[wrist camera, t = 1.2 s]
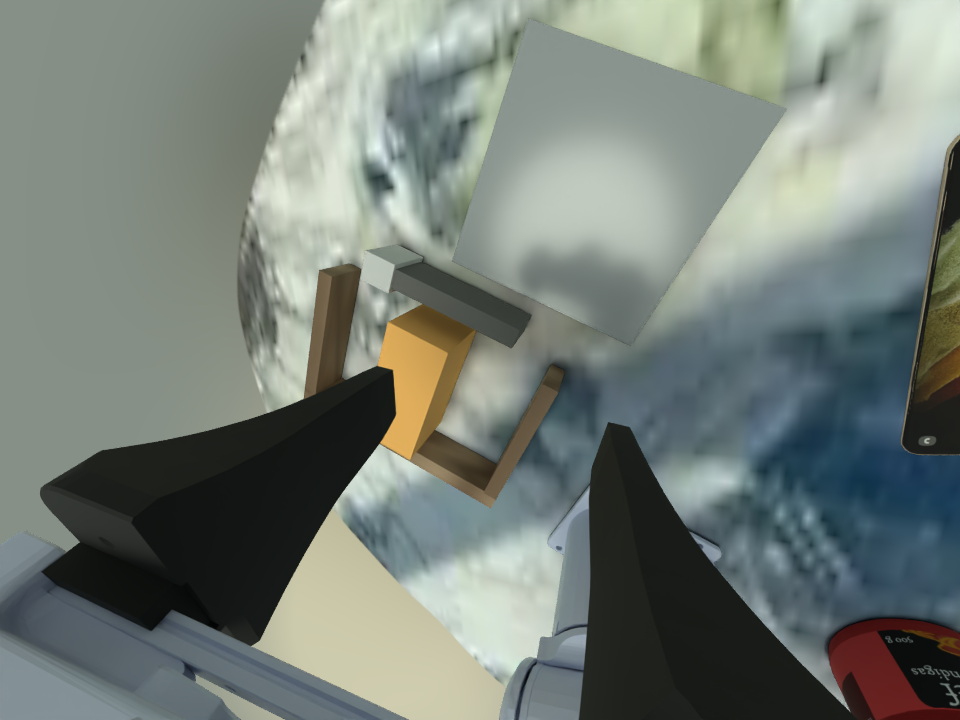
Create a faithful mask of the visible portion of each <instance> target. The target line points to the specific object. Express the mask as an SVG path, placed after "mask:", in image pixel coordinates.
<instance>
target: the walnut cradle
mask: <svg viewBox="0 0 960 720" xmlns="http://www.w3.org/2000/svg"><path fill="white" fill-rule="evenodd" d="M360 273H361V269H360V268H358V267H356V266H354V265H352V264H345V265H341V266H336V267H331V268H327V269H322V270H319V276H318V285H317V293H316V301H315V310H314V318H313V326H312V334H311V343H310V351H309V359H308V368H307V376H306V384H305V393H304V399H305V398H308V397H310V396H312V395H315V394H317V393H319V392H322V391H324V390H326V389H328V388H330V387H332V386H335V385H337V384H339V383H341V382H343V381H345V380H344V379H342V378H341V377H342V371H343V366H344V360H345V355H346V349H347V344H348V338H349V333H350V327H351V322H352V316H353V311H354V305H355V300H356V294H357V289H358V284H359V278H360ZM564 373H565V371H564V370H562V369H560V368H558V367H556V366H554V365H552V364H551V365H550V367H549V369H548V371H547V373H546V374H545V376H544V378H543V380H542V382H541V384H540V386H539V387H538V389H537V391H536V393H535V395H534V397H533V398H532V400H531V402H530V404H529V406H528V408H527V410H526V411H525V413H524V415H523V417H522V419H521V421H520V422H519V424H518V426H517V428H516V430H515V432H514V433H513V435H512V437H511V439H510V441H509V443H508V445H507V446H506V448H505V450H504V452H503V454H502V456H501V457H500V459H499V461H498V463H497V465H496V464H494V463H493V462H491V461H489V460H487V459H485V458H484V457H482V456H480V455H478V454H476V453H475V452H473V451H471V450H469V449H467V448H466V447H464V446H462V445H460V444H459V443H457V442H455V441H453V440H451V439H450V438H448V437H446V436H444V435H442V434H441V433H439V432H437V431H435V430H434V431H433V432H432V434H431V435H430V436H429V437H428V439H427V440H426V441H425V442H424V443H423V445H422V446H421V447H420V448H419V450H418V451H417V452H416V453H415V455H414V456H413V457H412V458H411V460H409V459H407V458H405V457H404V456H402V455H400V454H398V453H397V452H395V451H393V450H392V449H390V448H388V447H386V446H385V445H383V444H381V443H380V444H381V445H382V446H384V447H386V448H387V449H389V450H391V451H393V452H394V453H396V454H398V455H400V456H401V457H403V458H405V459H406V460H408V461H410V462H412V463H413V464H415V465H417V466H419V467H420V468H422V469H424V470H425V471H427V472H429V473H431V474H432V475H434V476H436V477H438V478H439V479H441V480H443V481H444V482H446V483H448V484H450V485H451V486H453V487H455V488H457V489H458V490H460V491H462V492H463V493H465V494H467V495H469V496H470V497H472V498H474V499H476V500H477V501H479V502H481V503H482V504H484V505H486V506H488V507H489V508H491V507H492V505H493V504H494V502H495V500H496V499H497V497H498V495H499V493H500V492H501V490H502V488H503V487H504V485H505V483H506V481H507V480H508V478H509V476H510V475H511V473H512V471H513V469H514V468H515V466H516V464H517V463H518V461H519V459H520V457H521V456H522V454H523V452H524V451H525V449H526V447H527V445H528V444H529V442H530V440H531V439H532V437H533V435H534V433H535V432H536V430H537V428H538V427H539V425H540V423H541V421H542V420H543V418H544V416H545V415H546V413H547V411H548V409H549V408H550V406H551V404H552V403H553V401H554V399H555V397H556V396H557V394H558V392H559V389H560V386H561V383H562V379H563V376H564Z"/></svg>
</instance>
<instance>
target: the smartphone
mask: <svg viewBox="0 0 960 720" xmlns="http://www.w3.org/2000/svg"><path fill="white" fill-rule="evenodd" d="M946 206H947V207H946ZM901 445H902V447H903V448H904V449H905V450H907V451H908V452H910V453H913V454H917V455H960V135H959V136H958V137H957V138H955V139H954V140H953V142H952V143H951V144H950V146H949V148H948V150H947V154H946V160H945V165H944V172H943V178H942V184H941V190H940V196H939V202H938V208H937V214H936V220H935V226H934V233H933V239H932V245H931V252H930V258H929V264H928V271H927V277H926V283H925V289H924V296H923V302H922V308H921V315H920V321H919V327H918V334H917V340H916V346H915V353H914V359H913V365H912V372H911V378H910V384H909V391H908V397H907V403H906V410H905V416H904V422H903V429H902V435H901Z"/></svg>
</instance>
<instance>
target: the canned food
mask: <svg viewBox="0 0 960 720" xmlns="http://www.w3.org/2000/svg"><path fill="white" fill-rule="evenodd" d="M828 653H829V660H830V666H831V669H832V672H833V674H834V677H835V679H836V681H837V683H838V685H839V688H840V690H841V692H842V694H843V696H844V698H845V701H846V703H847V705H848V707H849V709H850V712H851V713H852V714H853V715H854V716H855V717H856V718H857V719H858V720H960V634H959V633H957V632H955V631H953V630H951V629H948V628H945V627H941V626H938V625H935V624H931V623H926V622H921V621H916V620H907V619H876V620H868V621H864V622H859V623H856V624H853V625H851V626H848V627H846V628H844V629H843V630H841V631H840V632H838V633H837V634H836V635H835V636H834V637H833V638H832V640H831V642H830V644H829V651H828Z"/></svg>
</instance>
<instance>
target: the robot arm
mask: <svg viewBox="0 0 960 720" xmlns="http://www.w3.org/2000/svg"><path fill="white" fill-rule="evenodd" d="M395 417H396V402H395V388H394V374H393V370H392V369H388V368H384V367H380V366H376V367H374V368H371V369H369V370H367V371H364V372H362V373H360V374H358V375H356V376H354V377H352V378H349V379H347V380H345V381H343V382H341V383H339V384H337V385H335V386H332V387H330V388H328V389H326V390H324V391H322V392H319V393H317V394H315V395H312V396H310V397H308V398H305V399H303V400H300V401H298V402H296V403H293V404H291V405H289V406H286V407H283V408H281V409H278V410H275V411H273V412H270V413H267V414H264V415H261V416H258V417H255V418H252V419H249V420H245V421H242V422H238V423H234V424H231V425H228V426H224V427H220V428H216V429H213V430H209V431H205V432H201V433H197V434H192V435H188V436H183V437H178V438H173V439H168V440H163V441H158V442H152V443H146V444H140V445H134V446H128V447H121V448H116V449H109V450H102V451H100V452H98V453H96V454H95V455H93V456H92V457H90V458H88V459H87V460H85V461H83V462H82V463H80V464H78V465H77V466H75V467H73V468H72V469H70V470H68V471H67V472H65V473H64V474H62V475H60V476H59V477H57V478H55V479H54V480H52V481H50V482H49V483H47V484H46V485H44V486H43V487H42V488H41V490H40V496H41V499H42V500H43V502H44V504H45V505H46V506H47V507H48V508H49V510H51V512H52V513H53V514H54V515H55V516H56V517H57V518H58V519H59V520H60V521H61V522H62V523H63V524H64V526H65V527H66V528H67V529H68V530H69V531H70V532H71V533H72V534H73V535H74V536H75V537H76V538H77V539H78V540H79V541H80V543H78V544H77V545H76V546H74V547H73V548H72V549H71V550H69V551H68V552H66V551H65V550H63V549H62V548H60V547H59V546H57V545H55V544H53V543H51V542H49V541H47V540H45V539H42V538H40V537H38V536H36V535H34V534H31V533H29V532H27V531H22V532H19V533H17V534H16V535H14V536H13V537H11V538H10V539H8V540H6V541H5V542H3V543H2V544H1V545H0V720H241V719H239V718H238V717H237V716H236V715H235V714H234V713H233V712H232V711H231V710H230V709H229V708H228V707H227V706H226V705H225V703H224V702H223V700H222V699H221V698H220V697H218V696H216V695H215V694H213V693H211V692H210V691H208V690H207V689H205V688H204V687H202V686H200V685H198V684H197V683H195V681H196V679H195V674H196V675H198V676H200V677H202V678H204V679H206V680H208V681H210V682H212V683H214V684H216V685H218V686H220V687H221V688H224V689H226V690H227V691H230V692H231V693H233V694H235V695H237V696H239V697H241V698H243V699H245V700H247V701H249V702H251V703H253V704H255V705H257V706H259V707H261V708H263V709H265V710H267V711H269V712H271V713H273V714H275V715H277V716H279V717H281V718H283V719H285V720H408V719H406V718H404V717H402V716H400V715H397V714H395V713H393V712H391V711H389V710H387V709H385V708H382V707H380V706H378V705H376V704H374V703H372V702H370V701H367V700H365V699H363V698H361V697H358V696H357V695H354V694H352V693H350V692H348V691H346V690H344V689H341V688H340V687H337V686H335V685H333V684H331V683H329V682H327V681H324V680H322V679H320V678H318V677H316V676H314V675H311V674H309V673H307V672H305V671H303V670H301V669H299V668H296V667H294V666H292V665H290V664H288V663H286V662H283V661H281V660H279V659H277V658H275V657H273V656H271V655H268V654H266V653H264V652H262V651H260V650H258V649H256V648H253V647H251V646H252V645H254V644H255V643H257V642H258V641H260V639H261V637H262V635H263V633H264V631H265V629H266V627H267V625H268V623H269V621H270V619H271V617H272V615H273V613H274V611H275V609H276V607H277V605H278V603H279V601H280V599H281V597H282V595H283V593H284V591H285V589H286V587H287V585H288V583H289V582H290V580H291V578H292V576H293V574H294V572H295V571H296V569H297V567H298V565H299V563H300V561H301V560H302V557H303V556H304V554H305V552H306V551H307V549H308V547H309V546H310V544H311V542H312V540H313V539H314V537H315V535H316V534H317V532H318V530H319V528H320V527H321V525H322V523H323V522H324V520H325V519H326V517H327V515H328V514H329V512H330V511H331V509H332V507H333V506H334V504H335V503H336V501H337V500H338V498H339V497H340V495H341V494H342V492H343V491H344V490H345V488H346V487H347V486H348V484H349V483H350V482H351V481H352V479H353V478H354V477H355V475H356V474H357V473H358V471H359V470H360V469H361V467H362V466H363V465H364V464H365V462H366V461H367V460H368V458H369V457H370V456H371V454H372V453H373V452H374V450H375V449H376V448H377V446H378V445H379V444H380V442H381V441H382V440H383V438H384V436H385V435H386V433H387V431H388V429H389V428H390V426H391V424H392V422H393V420H394V419H395ZM547 543H548V546H549V547H550V548H552V549H554V550H555V551H557V552H559V553H561V554H562V555H564V558H563V564H562V571H561V578H560V584H559V591H558V598H557V604H556V611H555V618H554V624H553V631H552V637H541V638H540V643H539V649H538V655H537V658H533V657H528V658H525V659H524V660H523V661H522V662H521V663H520V664H519V666H518V667H517V669H516V671H515V672H514V674H513V675H512V677H511V678H510V680H509V683H508V685H507V688H506V691H505V694H504V697H503V701H502V706H501V711H500V716H499V720H858V719H857V718H856V717H855V716H854V715H853V714H852V713H851V712H850V711H849V710H848V709H847V708H846V707H845V706H843V705H842V704H841V703H840V702H839V701H838V700H837V699H836V698H835V697H834V696H833V695H832V694H831V693H830V692H829V691H828V690H827V689H826V688H825V687H824V686H823V685H822V684H821V683H820V682H819V681H818V680H817V679H816V678H815V677H814V676H813V675H812V674H811V673H810V672H809V671H808V670H807V669H806V668H805V667H804V666H803V665H802V664H801V663H800V662H799V661H798V660H797V659H796V658H795V657H794V656H793V655H792V654H791V653H790V652H789V650H788V649H787V648H786V647H785V646H784V645H783V644H782V643H781V642H780V641H779V640H778V639H777V638H776V637H775V635H774V634H773V633H772V632H771V631H770V630H769V629H768V628H767V627H766V626H765V625H764V624H763V623H762V621H761V620H760V619H759V618H758V617H757V616H756V615H755V614H754V612H753V611H752V610H751V609H750V608H749V607H748V606H747V604H746V603H745V602H744V601H743V600H742V599H741V597H740V596H739V595H738V594H737V593H736V591H735V590H734V589H733V588H732V587H731V586H730V584H729V583H728V582H727V581H726V580H725V578H724V577H723V576H722V575H721V574H720V572H719V571H718V570H717V569H716V567H715V564H714V562H715V561H717V560H718V559H719V558H720V557H721V555H722V554H721V550H720V548H719V547H717V546H716V545H714V544H712V543H710V542H708V541H707V540H705V539H703V538H701V537H699V536H697V535H695V534H694V533H692V532H690V531H688V529H687V528H686V526H685V525H684V523H683V522H682V520H681V519H680V517H679V516H678V514H677V513H676V511H675V510H674V508H673V506H672V505H671V503H670V502H669V500H668V498H667V497H666V495H665V493H664V492H663V490H662V488H661V486H660V484H659V483H658V481H657V479H656V477H655V476H654V474H653V472H652V470H651V468H650V467H649V465H648V463H647V461H646V459H645V457H644V455H643V453H642V451H641V449H640V447H639V445H638V443H637V441H636V439H635V436H634V434H633V432H632V430H631V429H630V427H627V426H622V425H618V424H614V423H610V422H608V424H607V427H606V430H605V433H604V435H603V438H602V441H601V444H600V447H599V449H598V452H597V455H596V458H595V460H594V463H593V466H592V470H591V480H590V485H589V486H588V488H587V489H586V490H585V492H584V493H583V494H582V495H581V497H580V498H579V499H578V501H577V502H576V503H575V505H574V506H573V507H572V508H571V510H570V511H569V512H568V514H567V515H566V516H565V518H564V519H563V520H562V521H561V523H560V524H559V525H558V527H557V528H556V529H555V531H554V532H553V533H552V534H551V536H550V537H549V538H548V542H547ZM698 544H700V545H698ZM560 546H561V547H560Z"/></svg>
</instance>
